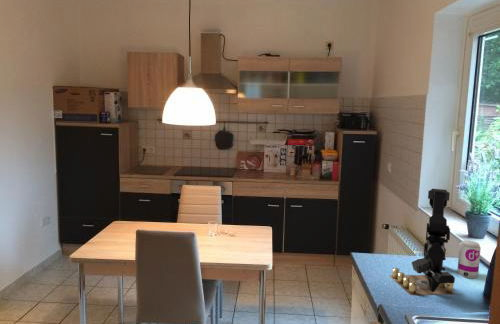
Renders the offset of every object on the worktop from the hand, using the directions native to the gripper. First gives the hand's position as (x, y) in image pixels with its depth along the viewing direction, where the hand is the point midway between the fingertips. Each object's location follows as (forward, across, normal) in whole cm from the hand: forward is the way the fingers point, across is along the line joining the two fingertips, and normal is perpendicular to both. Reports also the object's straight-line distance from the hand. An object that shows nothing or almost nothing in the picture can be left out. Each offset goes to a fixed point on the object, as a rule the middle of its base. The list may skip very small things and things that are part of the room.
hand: (432, 291), depth 161 cm
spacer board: (+2, -9, 0) cm, 9 cm away
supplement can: (+2, -20, +28) cm, 34 cm away
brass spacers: (+1, -9, 0) cm, 9 cm away
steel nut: (+1, -6, 0) cm, 7 cm away
